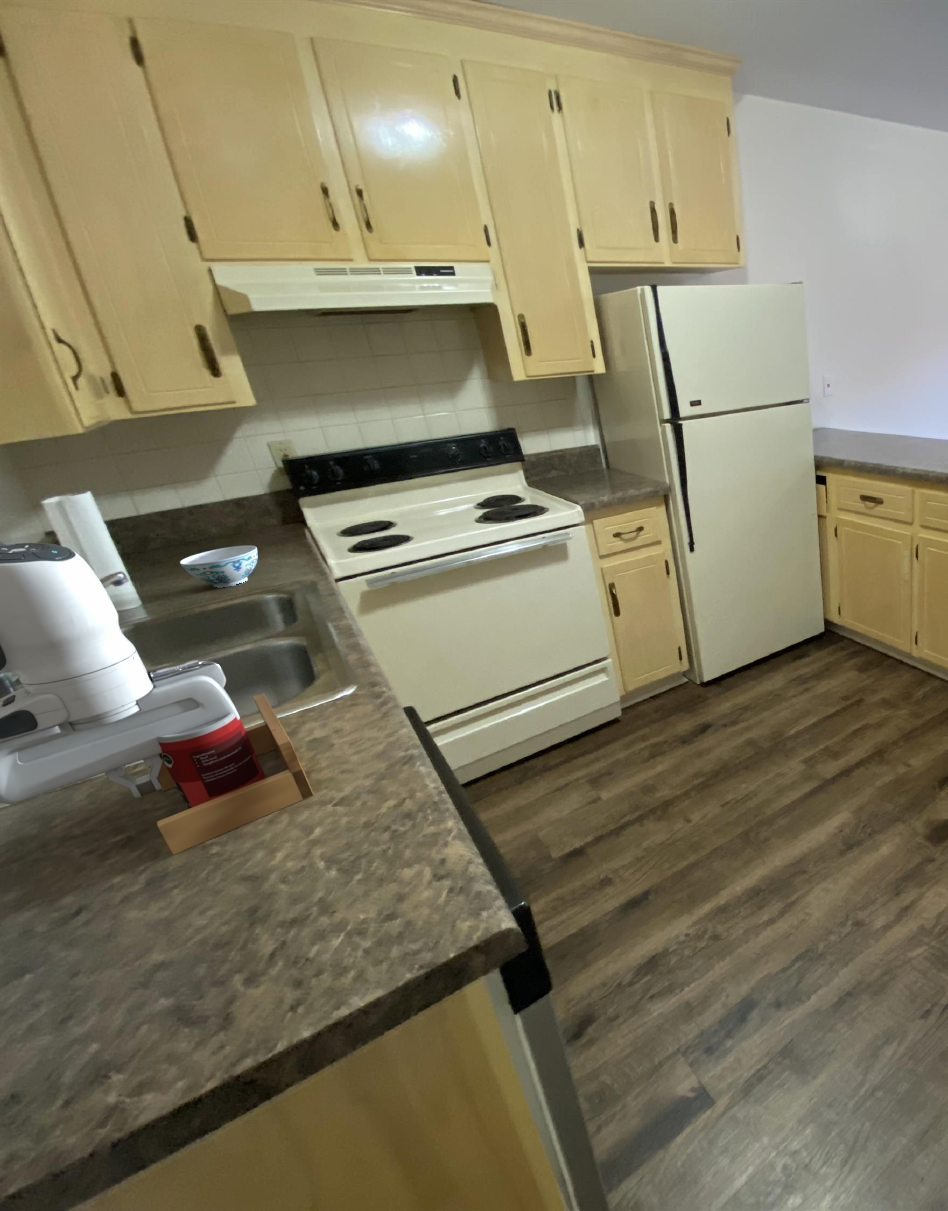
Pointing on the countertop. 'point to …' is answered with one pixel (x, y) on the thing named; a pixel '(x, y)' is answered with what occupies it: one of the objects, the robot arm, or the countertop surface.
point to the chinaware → (222, 565)
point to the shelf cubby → (240, 790)
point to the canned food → (211, 760)
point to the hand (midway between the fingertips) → (149, 791)
